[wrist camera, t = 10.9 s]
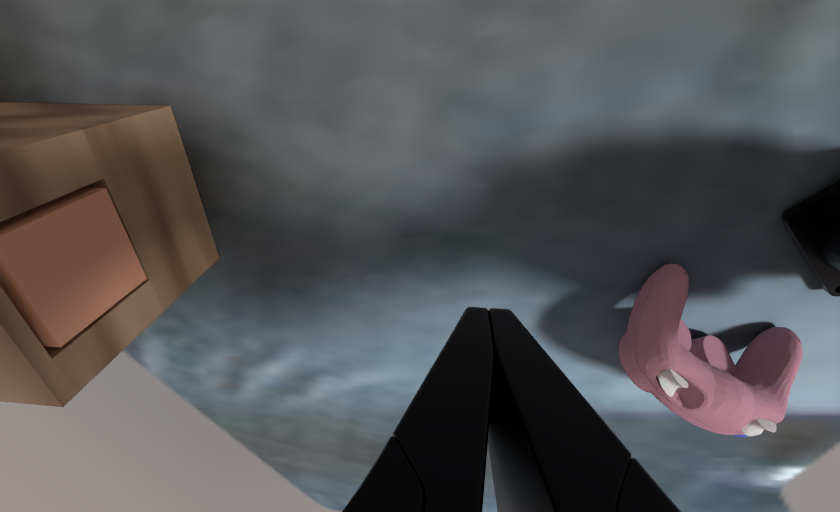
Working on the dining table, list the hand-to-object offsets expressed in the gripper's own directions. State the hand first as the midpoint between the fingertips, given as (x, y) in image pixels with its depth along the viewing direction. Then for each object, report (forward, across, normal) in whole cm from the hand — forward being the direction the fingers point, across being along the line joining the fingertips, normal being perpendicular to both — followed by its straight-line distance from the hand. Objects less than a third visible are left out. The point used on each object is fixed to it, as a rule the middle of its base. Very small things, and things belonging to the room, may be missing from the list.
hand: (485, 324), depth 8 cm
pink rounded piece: (+13, -14, +10) cm, 22 cm away
